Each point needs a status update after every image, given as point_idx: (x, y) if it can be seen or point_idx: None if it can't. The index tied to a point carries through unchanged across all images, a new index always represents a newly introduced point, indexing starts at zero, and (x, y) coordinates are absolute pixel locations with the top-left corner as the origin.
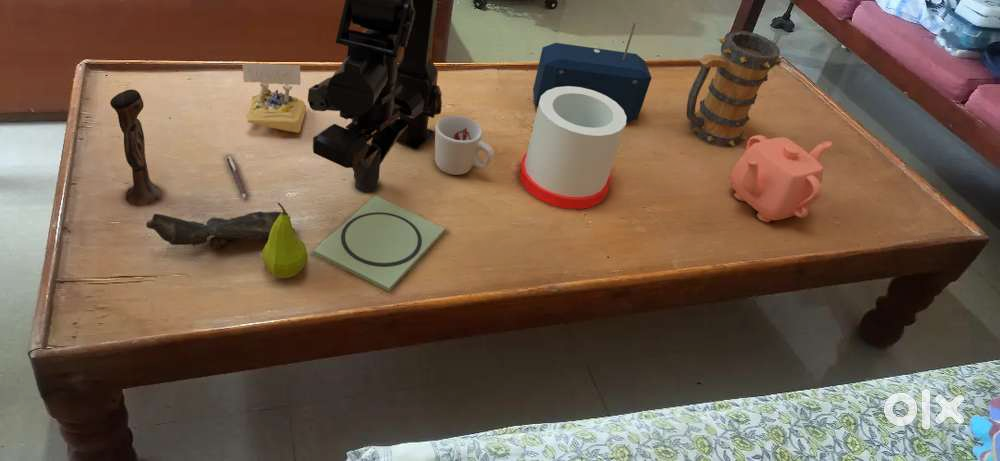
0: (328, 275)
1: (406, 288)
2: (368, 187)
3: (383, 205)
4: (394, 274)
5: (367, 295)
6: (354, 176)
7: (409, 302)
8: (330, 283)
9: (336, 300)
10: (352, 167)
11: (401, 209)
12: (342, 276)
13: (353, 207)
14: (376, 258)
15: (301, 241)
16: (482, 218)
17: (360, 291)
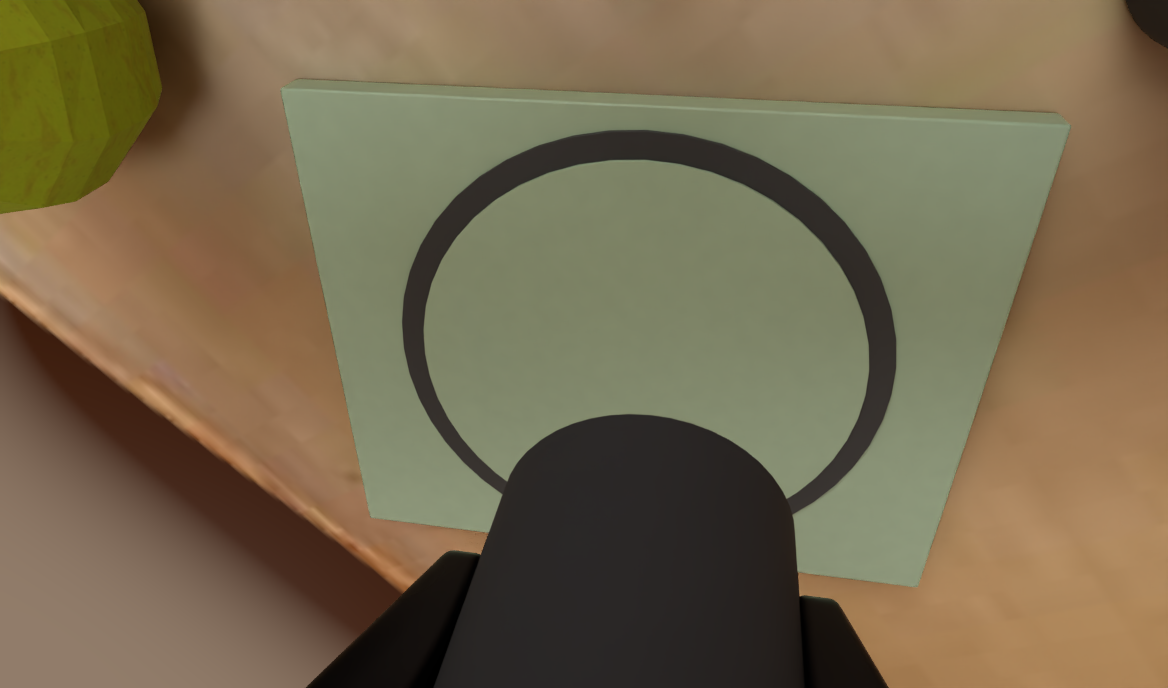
0: (250, 243)
1: (449, 542)
2: (1158, 30)
3: (967, 237)
4: (453, 507)
5: (300, 440)
6: (517, 474)
7: (395, 572)
8: (222, 279)
9: (175, 351)
10: (319, 678)
11: (978, 352)
12: (299, 302)
13: (876, 24)
14: (475, 415)
15: (33, 148)
16: (1126, 669)
17: (294, 408)
